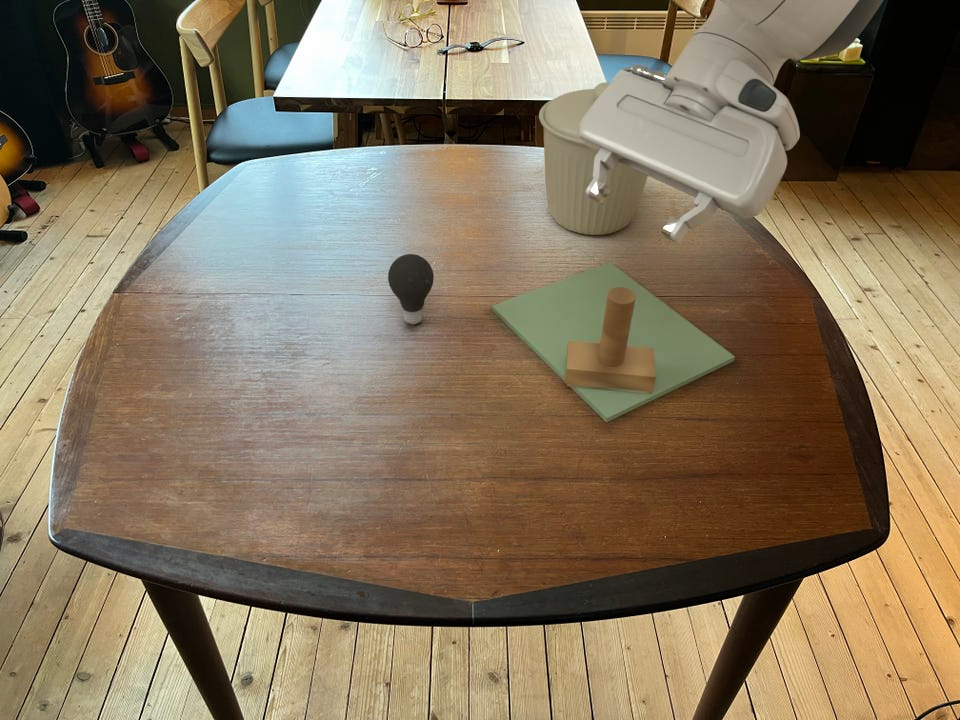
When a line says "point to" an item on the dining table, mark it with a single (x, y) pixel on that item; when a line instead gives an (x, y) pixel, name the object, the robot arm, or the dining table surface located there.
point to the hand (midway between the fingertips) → (629, 218)
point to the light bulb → (411, 284)
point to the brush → (612, 353)
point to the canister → (583, 170)
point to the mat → (579, 317)
